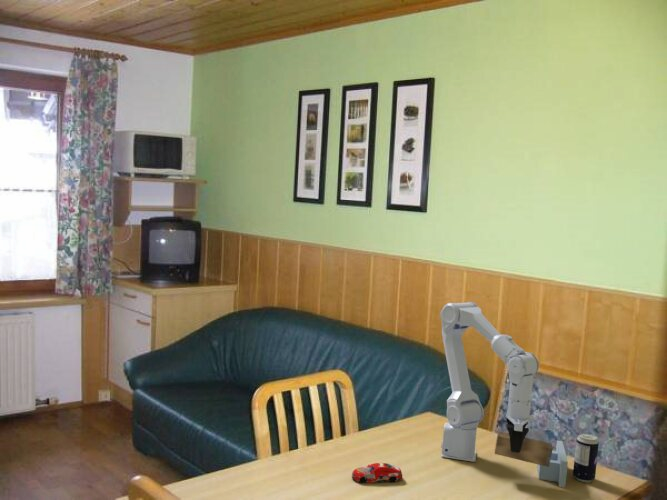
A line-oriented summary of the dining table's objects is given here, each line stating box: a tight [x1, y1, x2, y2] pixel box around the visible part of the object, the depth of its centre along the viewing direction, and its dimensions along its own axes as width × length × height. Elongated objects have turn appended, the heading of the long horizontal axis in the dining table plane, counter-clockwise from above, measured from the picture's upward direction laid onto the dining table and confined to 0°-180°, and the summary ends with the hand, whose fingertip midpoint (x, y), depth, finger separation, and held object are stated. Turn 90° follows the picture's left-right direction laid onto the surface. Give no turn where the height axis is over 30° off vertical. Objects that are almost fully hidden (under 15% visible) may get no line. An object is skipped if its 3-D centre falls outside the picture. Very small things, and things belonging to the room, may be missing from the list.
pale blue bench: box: [536, 440, 569, 489], centre depth 192 cm, size 6×16×7 cm, turn 167°
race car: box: [351, 462, 403, 484], centre depth 181 cm, size 13×5×4 cm, turn 101°
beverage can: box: [572, 432, 600, 483], centre depth 190 cm, size 6×6×12 cm
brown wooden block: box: [494, 430, 554, 467], centre depth 185 cm, size 14×4×5 cm, turn 77°
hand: (515, 448), depth 186 cm, fingers closed on brown wooden block, 4 cm apart
